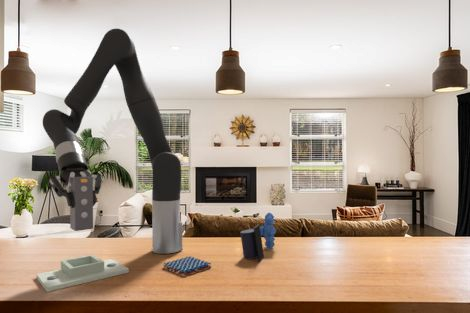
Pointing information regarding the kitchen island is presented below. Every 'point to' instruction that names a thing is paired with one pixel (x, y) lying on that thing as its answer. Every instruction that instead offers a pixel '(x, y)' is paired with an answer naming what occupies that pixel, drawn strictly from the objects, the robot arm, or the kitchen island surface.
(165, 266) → the woven mat
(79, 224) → the tall grey pillar
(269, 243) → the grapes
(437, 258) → the kitchen island surface
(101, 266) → the bracket
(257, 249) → the speaker
